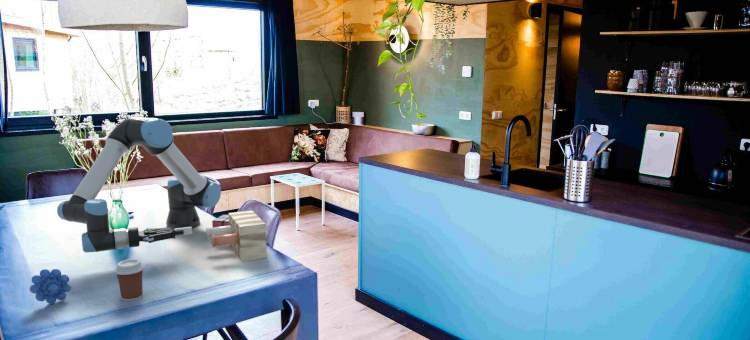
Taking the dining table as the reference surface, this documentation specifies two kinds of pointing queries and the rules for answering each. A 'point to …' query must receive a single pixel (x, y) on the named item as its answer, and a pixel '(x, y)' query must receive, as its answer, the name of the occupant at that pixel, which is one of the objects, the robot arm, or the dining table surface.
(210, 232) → the white plug
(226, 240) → the terracotta plug
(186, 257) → the dining table surface
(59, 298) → the blue lumpy lobed piece
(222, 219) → the puzzle cube
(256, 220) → the socket block
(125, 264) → the coffee cup
